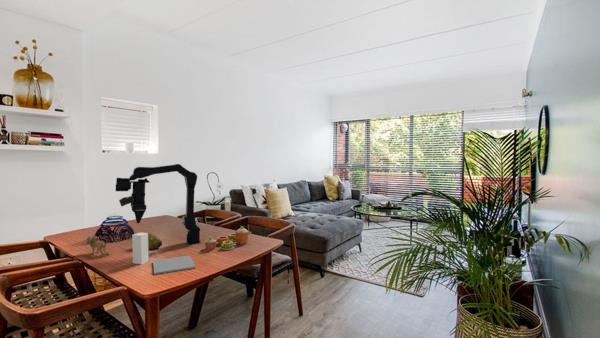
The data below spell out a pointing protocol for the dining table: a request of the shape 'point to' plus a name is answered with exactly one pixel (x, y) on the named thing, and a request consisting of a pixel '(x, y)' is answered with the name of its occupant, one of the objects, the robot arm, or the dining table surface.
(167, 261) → the rubber mat
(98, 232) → the decorative bowl
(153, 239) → the potato
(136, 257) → the tall block
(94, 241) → the lion figurine
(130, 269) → the dining table surface
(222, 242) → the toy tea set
